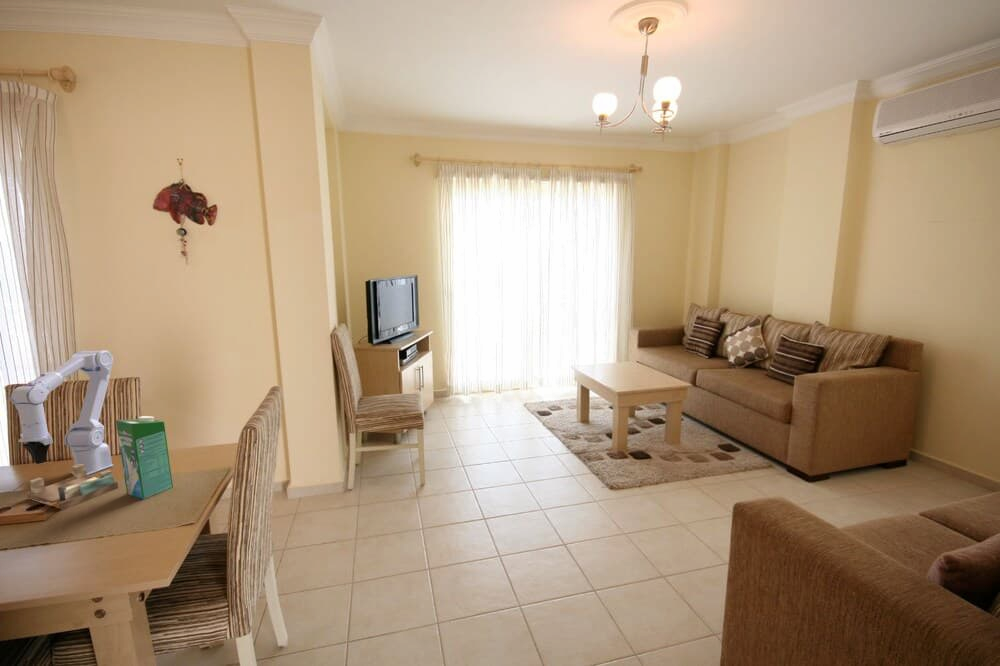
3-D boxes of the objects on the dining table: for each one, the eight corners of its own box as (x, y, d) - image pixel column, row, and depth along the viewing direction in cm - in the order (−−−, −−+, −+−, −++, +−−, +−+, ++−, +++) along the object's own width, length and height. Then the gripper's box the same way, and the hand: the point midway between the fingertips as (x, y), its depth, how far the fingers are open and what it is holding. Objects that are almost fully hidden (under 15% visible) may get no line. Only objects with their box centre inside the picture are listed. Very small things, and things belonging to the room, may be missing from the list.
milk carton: (173, 486, 153) (163, 414, 149) (142, 499, 145) (131, 423, 141) (157, 482, 156) (147, 411, 153) (126, 494, 148) (115, 420, 145)
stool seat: (84, 478, 160) (81, 462, 159) (118, 487, 153) (115, 470, 152) (28, 499, 147) (24, 481, 146) (61, 509, 139) (58, 491, 138)
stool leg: (62, 500, 141) (60, 489, 140) (57, 499, 142) (55, 487, 141) (100, 486, 150) (98, 475, 149) (95, 485, 151) (94, 474, 150)
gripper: (4, 424, 146) (12, 464, 148) (29, 429, 141) (36, 471, 143) (33, 417, 153) (40, 455, 155) (58, 422, 147) (65, 461, 149)
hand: (40, 462), depth 149 cm, fingers closed
